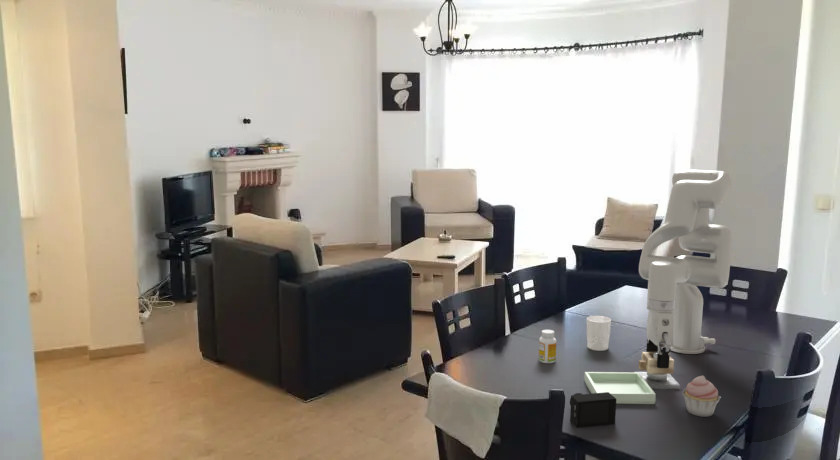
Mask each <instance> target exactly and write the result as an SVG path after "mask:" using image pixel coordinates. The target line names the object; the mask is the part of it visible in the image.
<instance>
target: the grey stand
mask: <svg viewBox="0 0 840 460" xmlns="http://www.w3.org/2000/svg"><path fill="white" fill-rule="evenodd" d="M658 354H659V351H658V352H654V354H653V358H655V359H657V355H658ZM637 372H638V373H639V374H640V375H641V376H642V378H643V379H644V380H645V381H646V383H647V384H648V385H649V386H650V388H651V389H652V390H681V389H680V388H681V385H680V384H679V382H678V381H677V380H676V379H675V378H674V377H673V376H672V375H671V374H649V373H648V372H647V371H637Z"/></svg>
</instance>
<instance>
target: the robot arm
mask: <svg viewBox="0 0 840 460" xmlns="http://www.w3.org/2000/svg"><path fill="white" fill-rule="evenodd" d="M671 177H672V179H671V182H672V187H671V190H670V195H669V200H668V204H667V208H666V213H665V218H664V222H663V224H662V225H661V226H659V227H657V228H656V229H655V230H654V231H653V232H652V233H651V234H650V235H649V236H648V237H647V239H646V240H645V242H644V243H643V247H642V250H641V255H640V258H639V263H638V274H639V276H640V277H641V278H642V279H643V280H647V294H646V295H647V297H646V310H648V312H647V320H646V321H647V322H646V351H645V352H659V354H658V355H657V367H658V368H669V357H671V356H670V355H671V351H672V352H674V353H679V354H685V355H697V354H698V355H699V354H702V353H704V352H705V351H706V345H716V344H717V343H716V339H715V338H709V337H708V336H703V335H702V324H703V311H704V310H703V309H704V308H703V307H704V297H703V294H702V292H701V291H700V289H699V288H698V287H706V288H713V289H714V288H715V289H723V288H725V287H726V286H727V285H728V283H729V279H730V271H731V269H730V268H731V259H732V258H731V257H732V247H733V236H732V231H731V229H730V227H728V226H727V225H724V224H715V223H714V224H713V223H710V222H709V216H710V215H709V214H710V210H711V209H712V210H713V209H714V210H717V209H719V207H721V205H722V204H723V202H724V201H725V200H726V197H728V195H729V193H730V190H731V188H732V187H731V186H732V179H731V178H732V177H731V176H730V174H729V172H727V171H724V170H716V169H715V170H709V169H688V168H687V169H681V170H676V171H675V172H674V173H673V174H672V176H671ZM675 239H678V245H679V247H680V249H682V250H684V251H687V252H694V253H701V254H704V253H705V254H711V255H713V256H714V257H707V256H699V255H686V254H685V255H678V256H676V257H672V256H671V257H670V256H663V255H656V254H655V255H654V253H655V251H656V249H658V247H660V245H662V244H664V243H666V242H668V241H672V240H675Z"/></svg>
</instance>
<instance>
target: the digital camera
mask: <svg viewBox="0 0 840 460" xmlns="http://www.w3.org/2000/svg"><path fill="white" fill-rule="evenodd" d="M569 405H570V411H569V412H570V414H569V416H570V417H569V420H570V422H571V424H572V425H574V426H575V427H576V429H580V428H588V427H589V428H591V427H600V426H610V425H611V426H613V425H616V414H617V413H616V412H617V403H616V398H615V397H614V396H612V395H611V394H610V393H609V392H604V393H593V394H591V393H584V394H583V393H581V392H576V393H574V394H572V395H571V394H570V399H569Z"/></svg>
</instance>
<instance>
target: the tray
mask: <svg viewBox="0 0 840 460" xmlns="http://www.w3.org/2000/svg"><path fill="white" fill-rule="evenodd" d="M638 372H639V371H634V372H624V371H621V372H619V371H584V377H583V379H584V383H585V385H586V386H587V388H588V390H589V391H590V394H593V393H604V392H609V393H610V394H611V395H612V396H614V397H615V398H616V405H617V404H629V405H630V404H631V405H633V404H634V405H638V404H639V405H643V404H644V405H655V404H656V395H657V394H656V393H655V391H654V389H651V388H650V386H649V385H648V384H647V383H646V381H645V380H644V379H643V378H642V376H641V375H640V374H639V373H638Z"/></svg>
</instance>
